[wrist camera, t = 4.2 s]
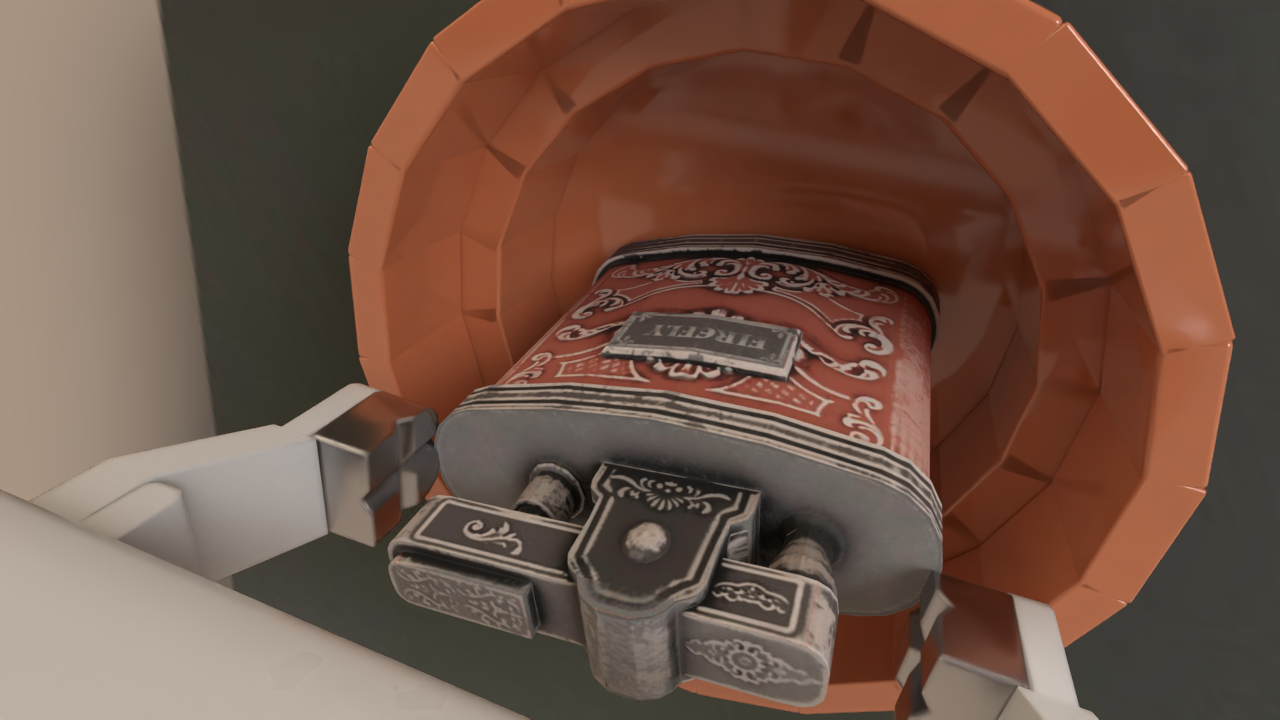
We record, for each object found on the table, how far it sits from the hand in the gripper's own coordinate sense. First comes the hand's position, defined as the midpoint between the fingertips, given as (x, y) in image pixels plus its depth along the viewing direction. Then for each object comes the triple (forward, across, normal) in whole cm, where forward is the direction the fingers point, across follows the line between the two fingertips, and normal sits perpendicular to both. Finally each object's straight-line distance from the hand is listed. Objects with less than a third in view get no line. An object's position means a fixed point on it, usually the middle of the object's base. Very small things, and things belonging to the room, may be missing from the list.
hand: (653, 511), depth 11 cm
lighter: (+8, 0, -1) cm, 8 cm away
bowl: (+8, 0, -1) cm, 8 cm away
